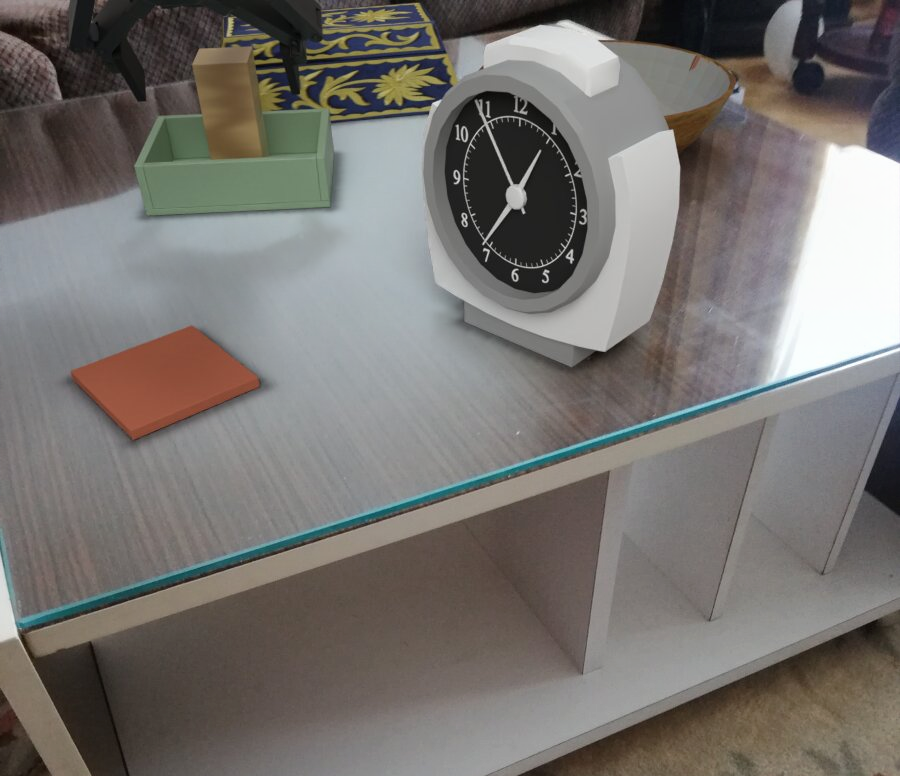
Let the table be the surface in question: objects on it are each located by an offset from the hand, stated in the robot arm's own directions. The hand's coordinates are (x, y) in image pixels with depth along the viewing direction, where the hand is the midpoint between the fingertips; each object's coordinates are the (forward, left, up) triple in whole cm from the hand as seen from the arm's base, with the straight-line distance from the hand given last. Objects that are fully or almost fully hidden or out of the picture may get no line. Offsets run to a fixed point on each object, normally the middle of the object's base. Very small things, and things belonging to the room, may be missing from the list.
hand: (218, 83), depth 81 cm
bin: (-5, +3, -11) cm, 12 cm away
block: (-5, +3, -10) cm, 12 cm away
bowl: (+15, +33, -11) cm, 38 cm away
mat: (+24, -20, -11) cm, 33 cm away
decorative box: (-18, +23, -11) cm, 31 cm away
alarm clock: (+36, +5, -11) cm, 38 cm away
